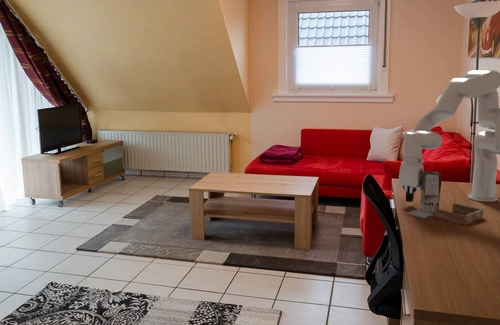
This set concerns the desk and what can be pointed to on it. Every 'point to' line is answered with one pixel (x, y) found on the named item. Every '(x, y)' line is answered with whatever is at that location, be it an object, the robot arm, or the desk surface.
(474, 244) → the desk surface
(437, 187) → the coffee box
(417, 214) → the mat grey
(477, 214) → the bay walnut
